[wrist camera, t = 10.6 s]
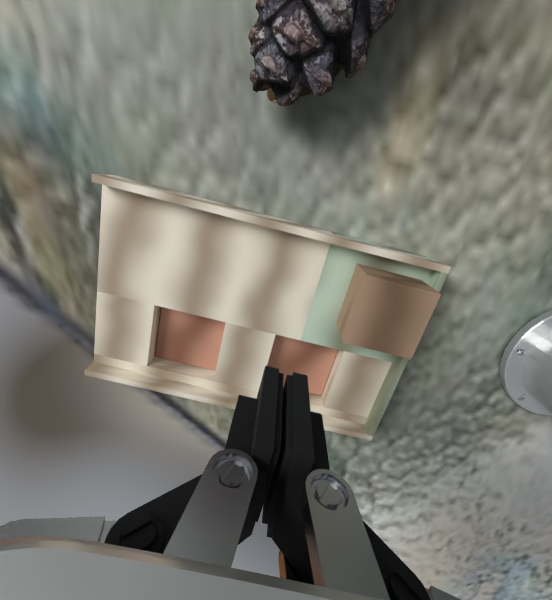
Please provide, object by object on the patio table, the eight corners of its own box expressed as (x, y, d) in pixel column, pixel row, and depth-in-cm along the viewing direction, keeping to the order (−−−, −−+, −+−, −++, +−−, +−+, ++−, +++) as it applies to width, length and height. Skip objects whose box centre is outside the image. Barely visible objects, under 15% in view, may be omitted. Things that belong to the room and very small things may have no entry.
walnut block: (420, 279, 28) (441, 294, 24) (395, 337, 30) (411, 359, 26) (356, 263, 28) (367, 275, 24) (336, 322, 30) (342, 342, 26)
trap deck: (432, 257, 29) (451, 267, 26) (363, 417, 36) (371, 440, 32) (115, 175, 28) (92, 173, 24) (104, 356, 34) (84, 374, 31)
